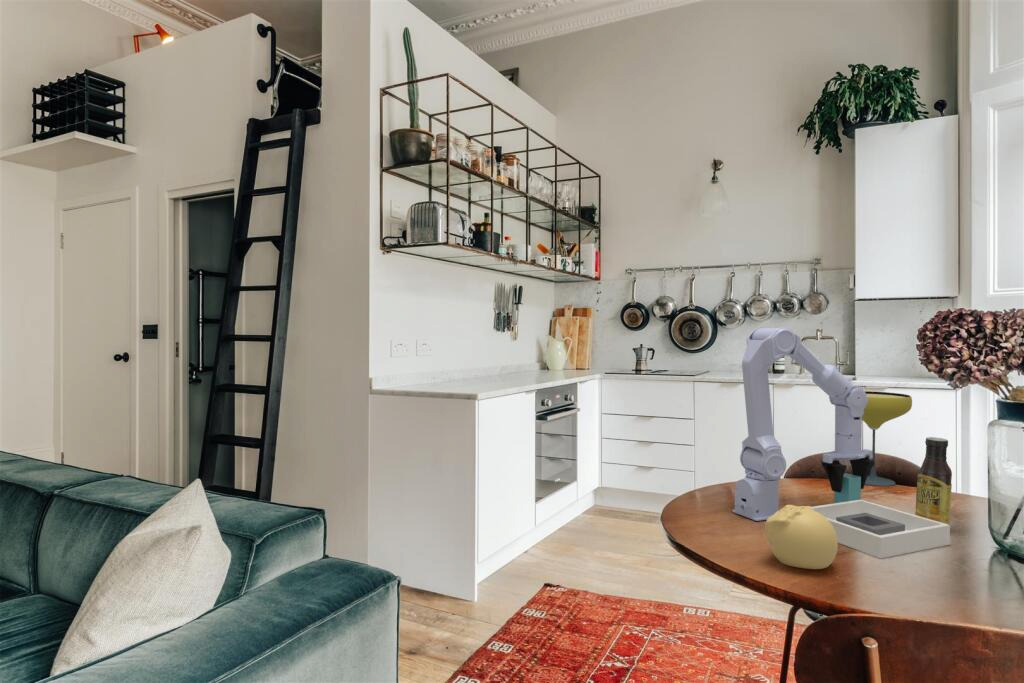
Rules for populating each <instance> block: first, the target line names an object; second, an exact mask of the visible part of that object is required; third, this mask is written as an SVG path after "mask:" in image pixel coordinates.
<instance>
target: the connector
mask: <svg viewBox="0 0 1024 683" xmlns="http://www.w3.org/2000/svg"><path fill="white" fill-rule="evenodd" d="M861 490H862V489H861V477H860V476H856V475H853V473H852V474H851V473H845V472H844V475H843V481H842V490H841V492H835V491H833V492H834V493H833V494H834V495H833V496H834V499H833V501H834V502H833V504H834V503H841V502H848V501H854V500H862V499H861V498H862V497H861V495H862V492H861Z"/></svg>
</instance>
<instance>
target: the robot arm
mask: <svg viewBox="0 0 1024 683" xmlns="http://www.w3.org/2000/svg"><path fill="white" fill-rule="evenodd" d="M745 339H746V340H745V341H746V348H745V350H744V354H743V358H742V360H741V368H742V382H743V390H744V392H743V393H744V402H745V413H746V424H747V434H748V435H747V437H746V438H744V439H743V440H742V442H741V444H742V447H741V448H742V450H741V452H740V456H739V462H740V465H741V466H742V468H743V469H744V474H745V476H744V478H741V479H739V480H737V481H736V483H735V487H734V509H732V513H734V514H737V515H740V516H742V517H745V518H748V519H751V520H753V521H756V522H759V521H761V522H762V521H766V520H767V519H768V518H769V517H770V516H772V515H774V514H775V512H777V511H779V510H780V508H779V507H780V505H779V504H780V489H779V488H780V481H781V477H783V475H784V473H785V471H786V470H787V461H786V458H785V456H784V455H783V452H782V446H781V444H780V443H779V441H778V440H777V439H776V437H775V435H774V428H773V427H774V425H773V414H772V413H773V412H772V404H771V393H770V381H769V380H770V379H769V371H768V370H769V369H770V367H772V365H773V364H775V362H777V361H779V360H780V359H782V358H784V357H785V356H788V357H789V358H791V359H792V360H793V361H795V362H796V364H798V365H800V366H801V367H802V368H803V369H805V370H806V371H807V372H808V373H809V374H811V375H812V376H811V381H812V382H813V383H814V385H816V386H817V387H819V389H821V390H822V391H823V392H824V393H825V394H826V395H827V396H828V399H829V400H828V401H829V402H830V405H833V406H834V450H832V451H830V452H827V453H822V460H821V466H822V467H823V469H824V471H825V473H826V475H827V478H828V481H829V484H830V488H831V491H833V492H834V491H835V492H841V490H842V481H843V475H844V473H845V472H846V469H847V467H848V465H845V464H842V463H841V462H845V461H849V463H850V466H851V471H852V475H856V476H860V477H861V490H863V489H864V488H865V485H866V484H865V482H866V479H867V476H869V475H870V473H871V468H872V467H873V465H874V460H872V458H873V451H872V449H867V448H865V449H864V448H863V449H862V443H863V442H862V439H863V438H862V436H863V434H862V432H863V431H862V430H863V426H862V425H863V421H862V416H863V414H864V408H865V406H866V405H867V403H868V397H867V396H866V393H865V389H863V388H862V387H861V386H858V385H854V384H853V383H852V380H851V379H850V378H846V377H845V375H844V374H842V373H841V372H840V371H839V367H838V366H837V365H832V364H828V363H827V364H824V363H823V362H822V361H821V360H820V359H819V358H818V357H817V356H816V355H815V354H814V353H813V352H812V351H811V350H810V349H809V348H808V347H807V346H806V344H804V343H803V342H802V340H801V337H800V336H799V335H798V334H796V333H794V331H793V330H792V329H790V328H789V327H785V326H784V327H782V326H781V327H762V326H760V327H757V328H755V329H753V331H752V332H750V334H749V335H748V336H746V338H745Z"/></svg>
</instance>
